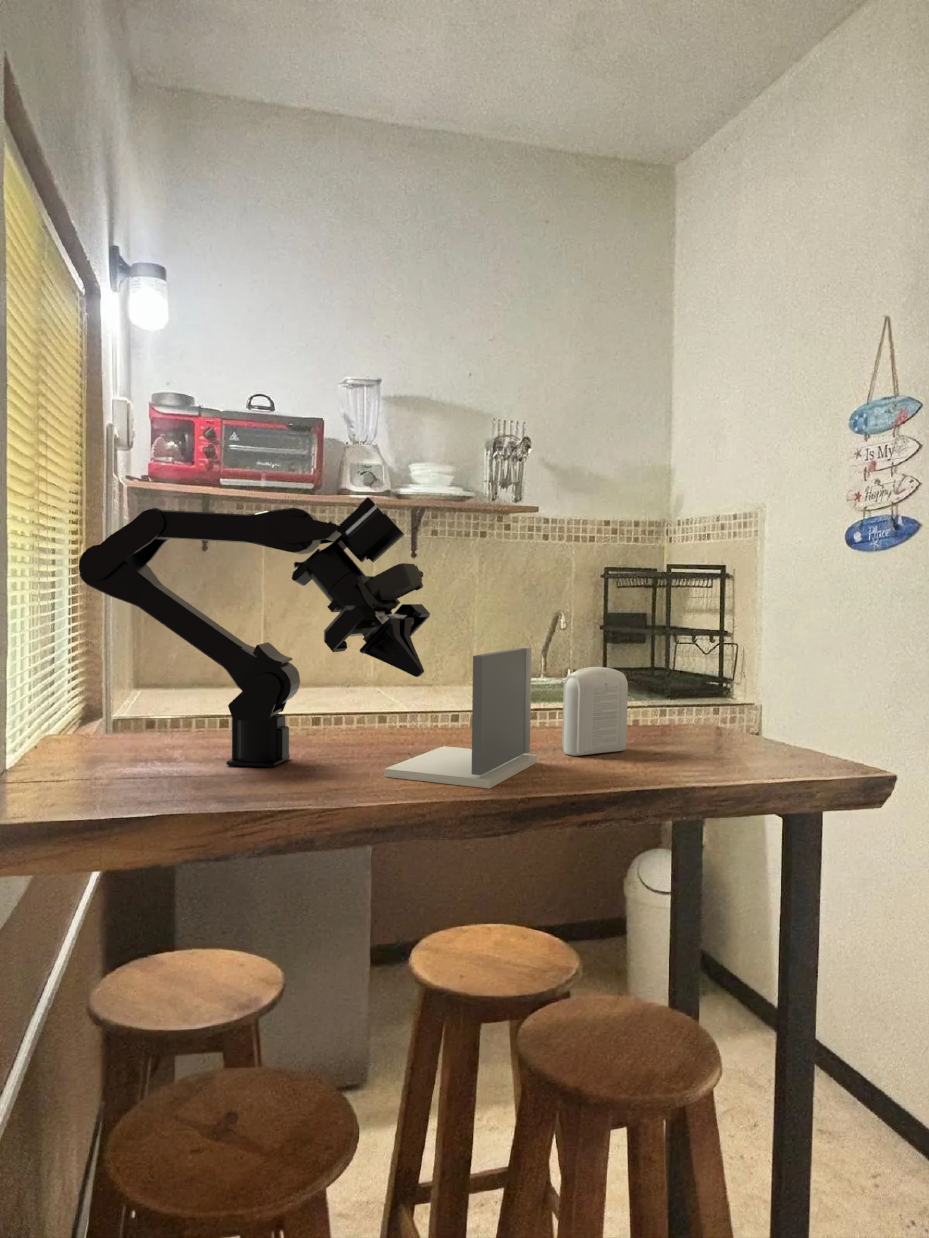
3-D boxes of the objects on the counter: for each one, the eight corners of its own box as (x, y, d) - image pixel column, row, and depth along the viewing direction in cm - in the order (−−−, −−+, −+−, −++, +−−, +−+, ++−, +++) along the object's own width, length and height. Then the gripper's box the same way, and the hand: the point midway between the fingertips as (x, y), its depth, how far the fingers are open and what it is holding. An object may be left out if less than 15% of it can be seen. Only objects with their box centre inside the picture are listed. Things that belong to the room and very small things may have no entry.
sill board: (384, 776, 106) (384, 768, 106) (443, 753, 121) (443, 746, 121) (489, 788, 100) (489, 779, 100) (536, 762, 115) (536, 754, 115)
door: (459, 772, 101) (460, 655, 101) (509, 749, 117) (511, 646, 116) (484, 775, 100) (485, 656, 99) (532, 751, 115) (533, 647, 115)
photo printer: (610, 746, 128) (612, 664, 128) (631, 751, 124) (632, 666, 124) (557, 753, 122) (558, 667, 122) (577, 758, 119) (578, 669, 118)
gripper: (346, 537, 100) (429, 633, 96) (417, 545, 118) (491, 627, 114) (289, 602, 104) (368, 698, 100) (367, 601, 121) (436, 683, 117)
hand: (420, 674), depth 107 cm, fingers closed
